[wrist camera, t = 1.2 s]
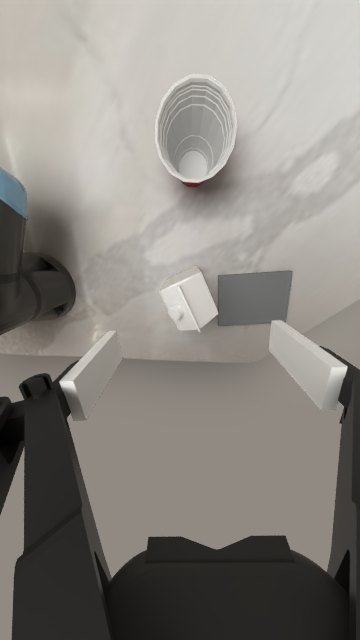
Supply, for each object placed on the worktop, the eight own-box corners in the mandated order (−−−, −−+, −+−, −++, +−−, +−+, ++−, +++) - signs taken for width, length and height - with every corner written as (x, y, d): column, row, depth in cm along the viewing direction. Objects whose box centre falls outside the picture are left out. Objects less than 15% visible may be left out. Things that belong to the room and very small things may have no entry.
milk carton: (195, 265, 41) (203, 274, 23) (207, 293, 43) (223, 322, 25) (167, 278, 42) (154, 297, 24) (180, 305, 44) (177, 341, 27)
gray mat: (218, 324, 46) (218, 325, 45) (218, 275, 42) (218, 275, 41) (283, 321, 45) (285, 322, 44) (290, 270, 41) (292, 270, 40)
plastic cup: (152, 176, 36) (137, 140, 24) (187, 117, 32) (189, 46, 21) (195, 215, 38) (200, 199, 26) (232, 163, 35) (255, 120, 23)
